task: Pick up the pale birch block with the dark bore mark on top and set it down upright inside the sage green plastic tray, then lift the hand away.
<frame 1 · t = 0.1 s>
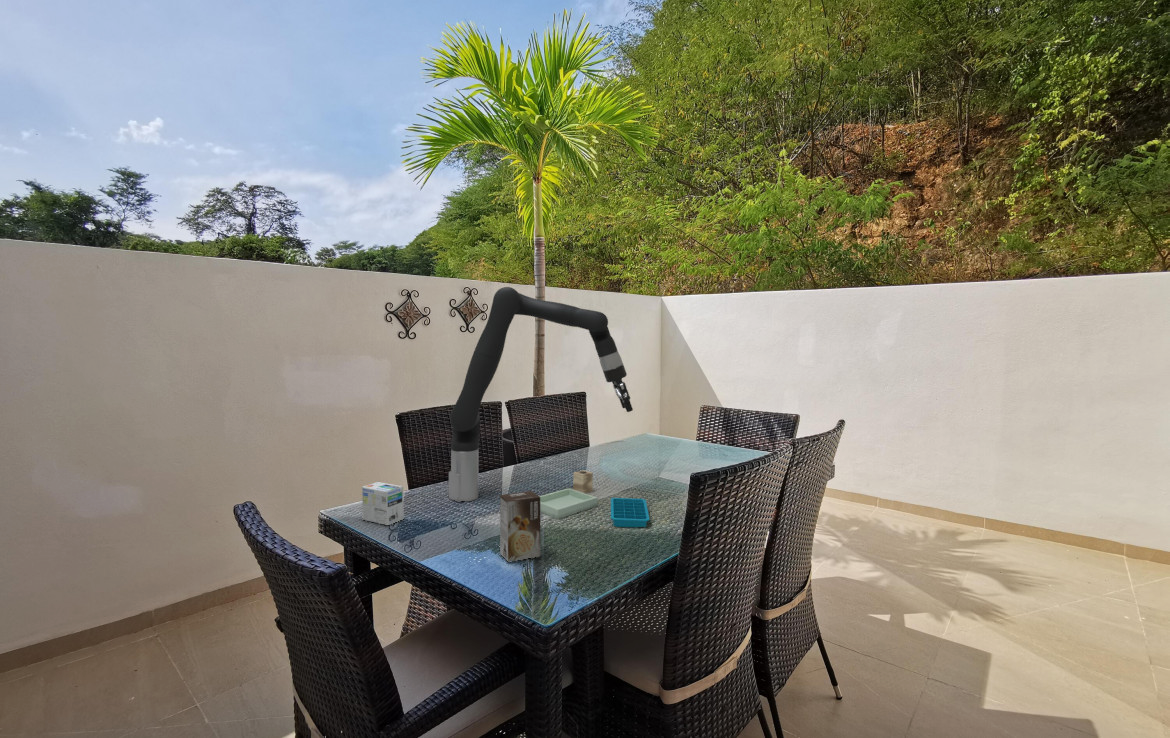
hand: (627, 409, 186), 31 cm above the table, tool tilted 20°, fingers open, 8 cm apart
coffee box: (520, 556, 138), on the table
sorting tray: (563, 507, 176), on the table
light bulb box: (383, 521, 161), on the table
ice cube tray: (628, 518, 168), on the table
birch block: (582, 491, 193), on the table
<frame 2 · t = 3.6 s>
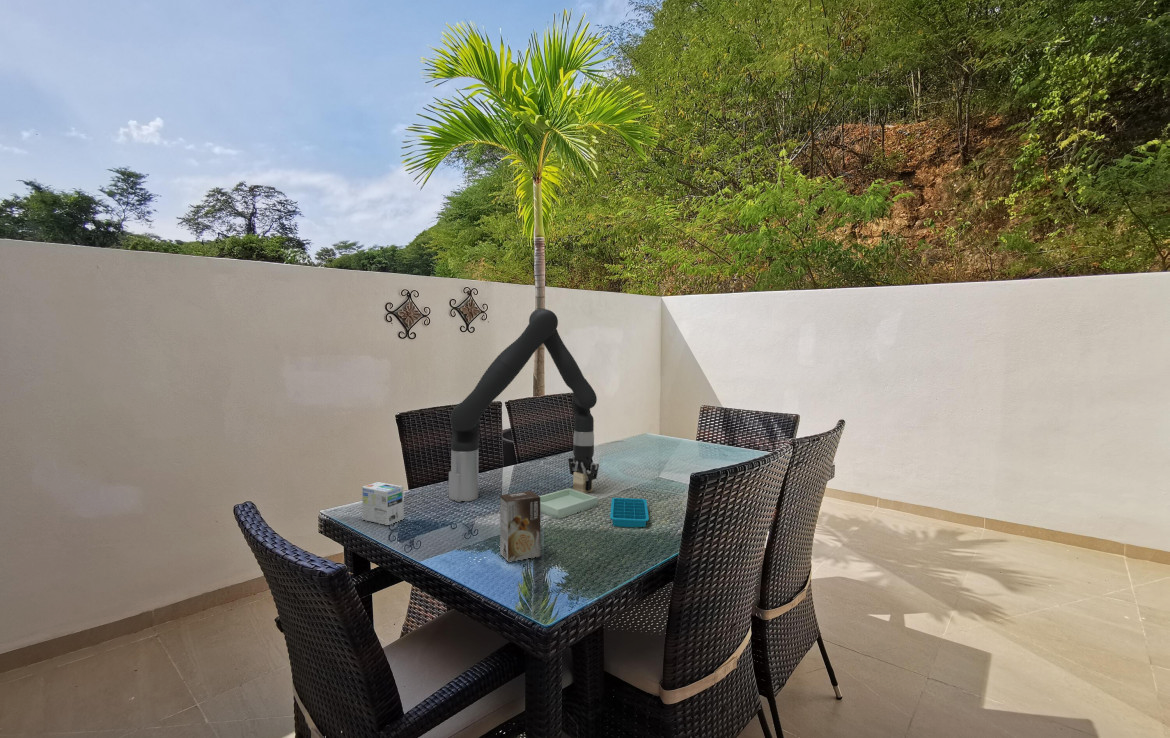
hand: (582, 488, 193), 1 cm above the table, tool pointing down, fingers closed on birch block, 5 cm apart
birch block: (582, 491, 193), on the table, touching gripper
everything else where it was.
when the fingers open (3 cm above the table, at t = 11.1 s): birch block drops 1 cm, resting on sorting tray.
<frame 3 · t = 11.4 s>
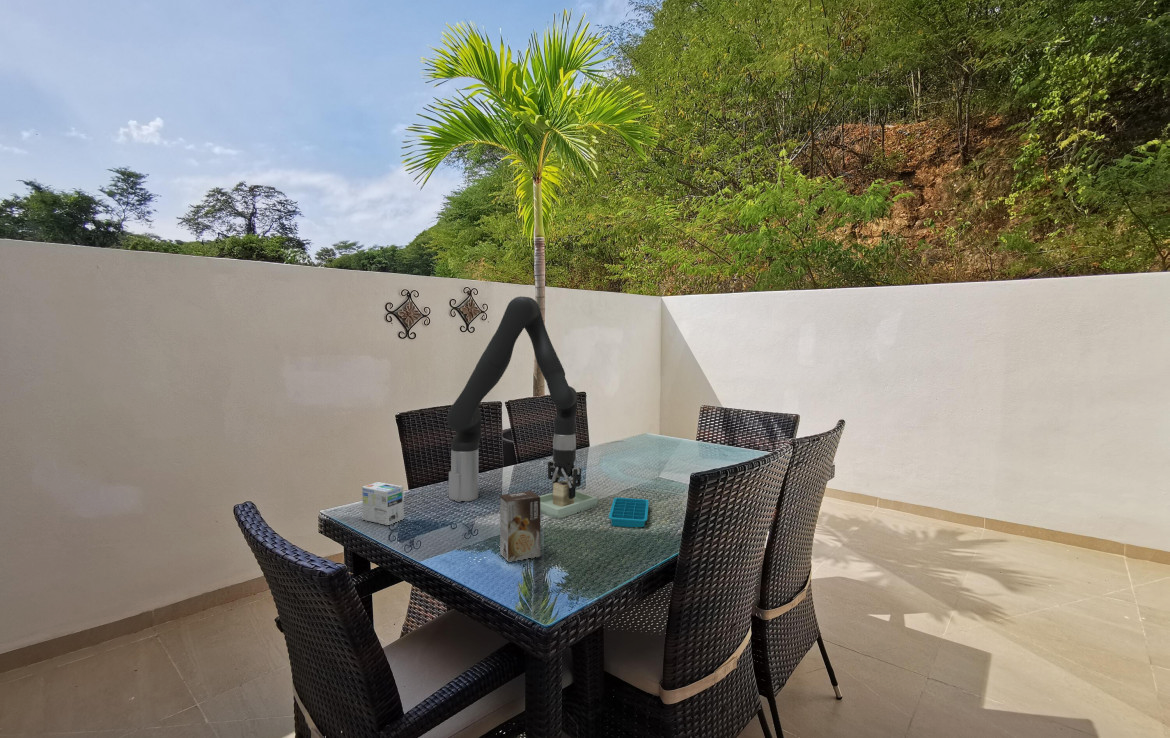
hand: (563, 495, 175), 4 cm above the table, tool pointing down, fingers open, 7 cm apart
birch block: (563, 504, 176), point 1 cm above the table, touching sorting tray
everything else where it was.
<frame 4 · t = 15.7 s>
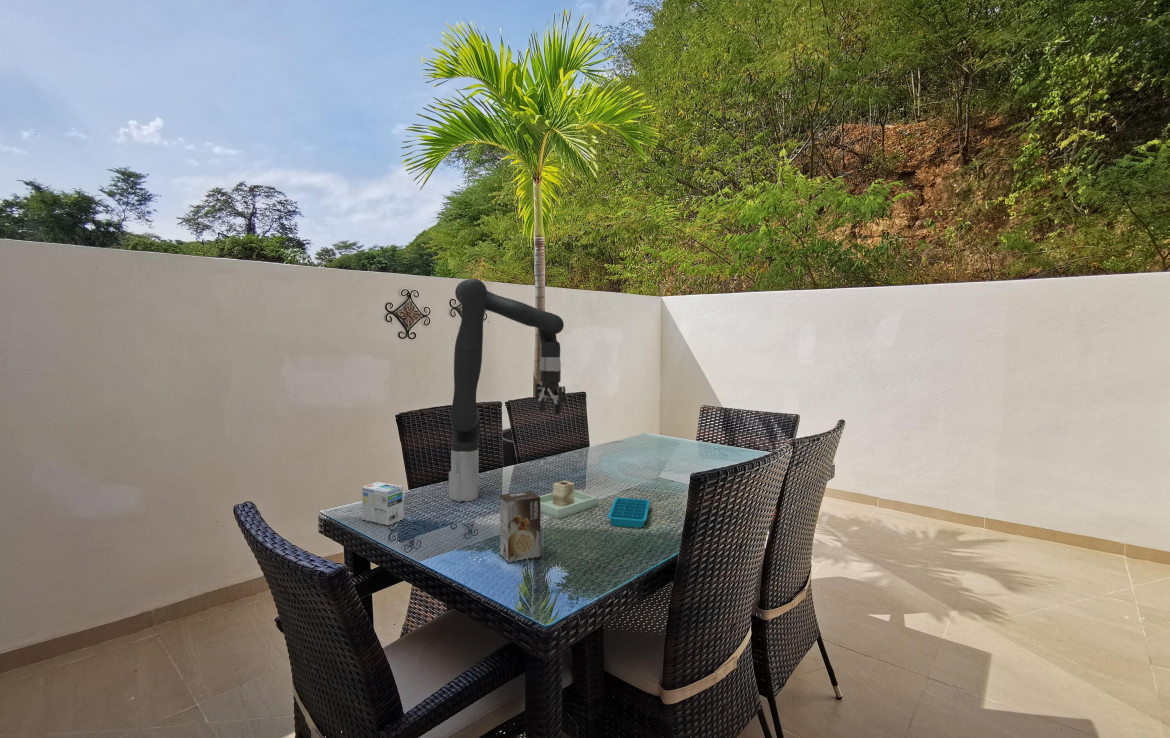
hand: (549, 412, 195), 28 cm above the table, tool pointing down, fingers open, 8 cm apart
nothing on the table moved.
at the end: birch block inside the target area on the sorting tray (0.1 cm from its centre), point 1.0 cm above the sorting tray's base; birch block tilted 0°; the gripper is holding nothing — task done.
